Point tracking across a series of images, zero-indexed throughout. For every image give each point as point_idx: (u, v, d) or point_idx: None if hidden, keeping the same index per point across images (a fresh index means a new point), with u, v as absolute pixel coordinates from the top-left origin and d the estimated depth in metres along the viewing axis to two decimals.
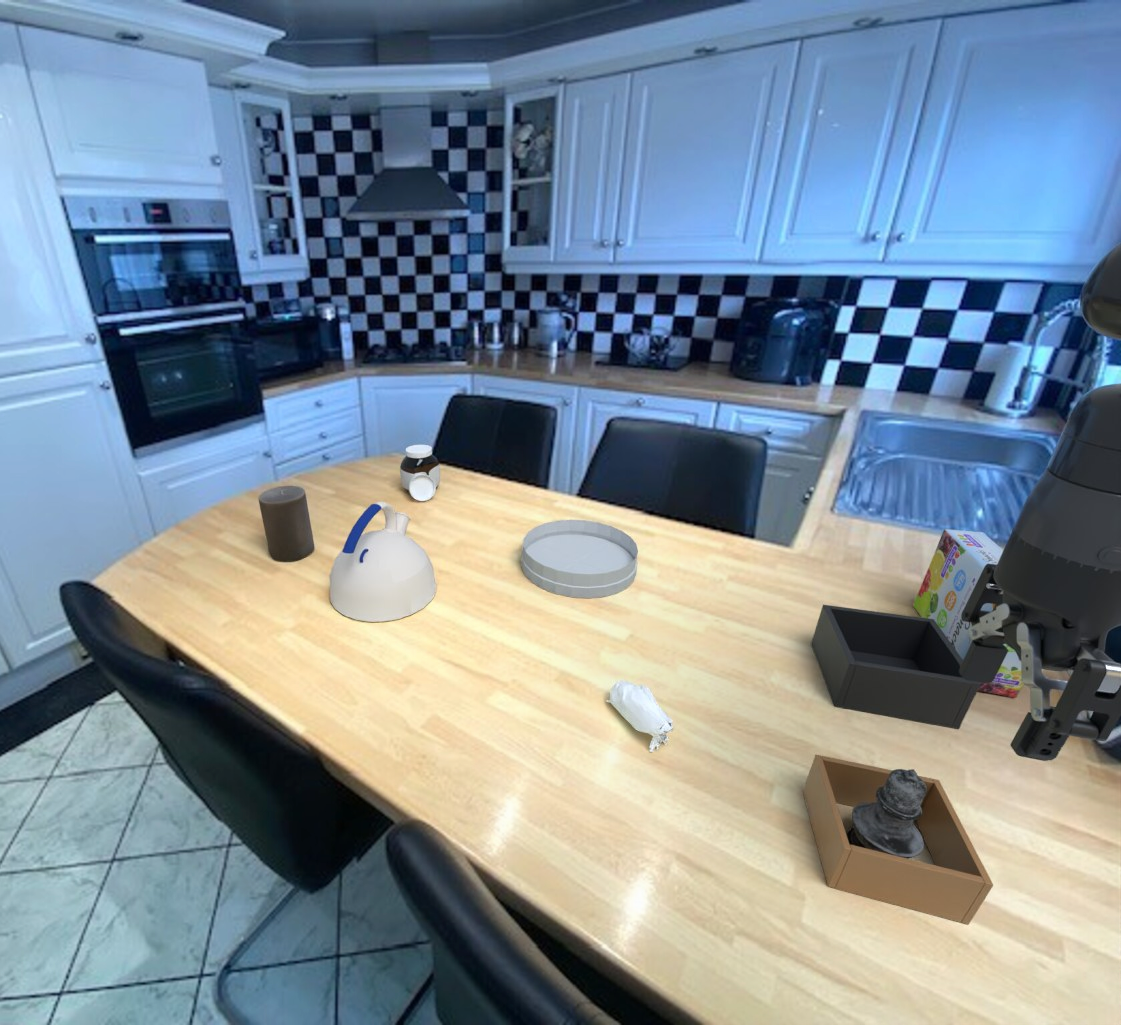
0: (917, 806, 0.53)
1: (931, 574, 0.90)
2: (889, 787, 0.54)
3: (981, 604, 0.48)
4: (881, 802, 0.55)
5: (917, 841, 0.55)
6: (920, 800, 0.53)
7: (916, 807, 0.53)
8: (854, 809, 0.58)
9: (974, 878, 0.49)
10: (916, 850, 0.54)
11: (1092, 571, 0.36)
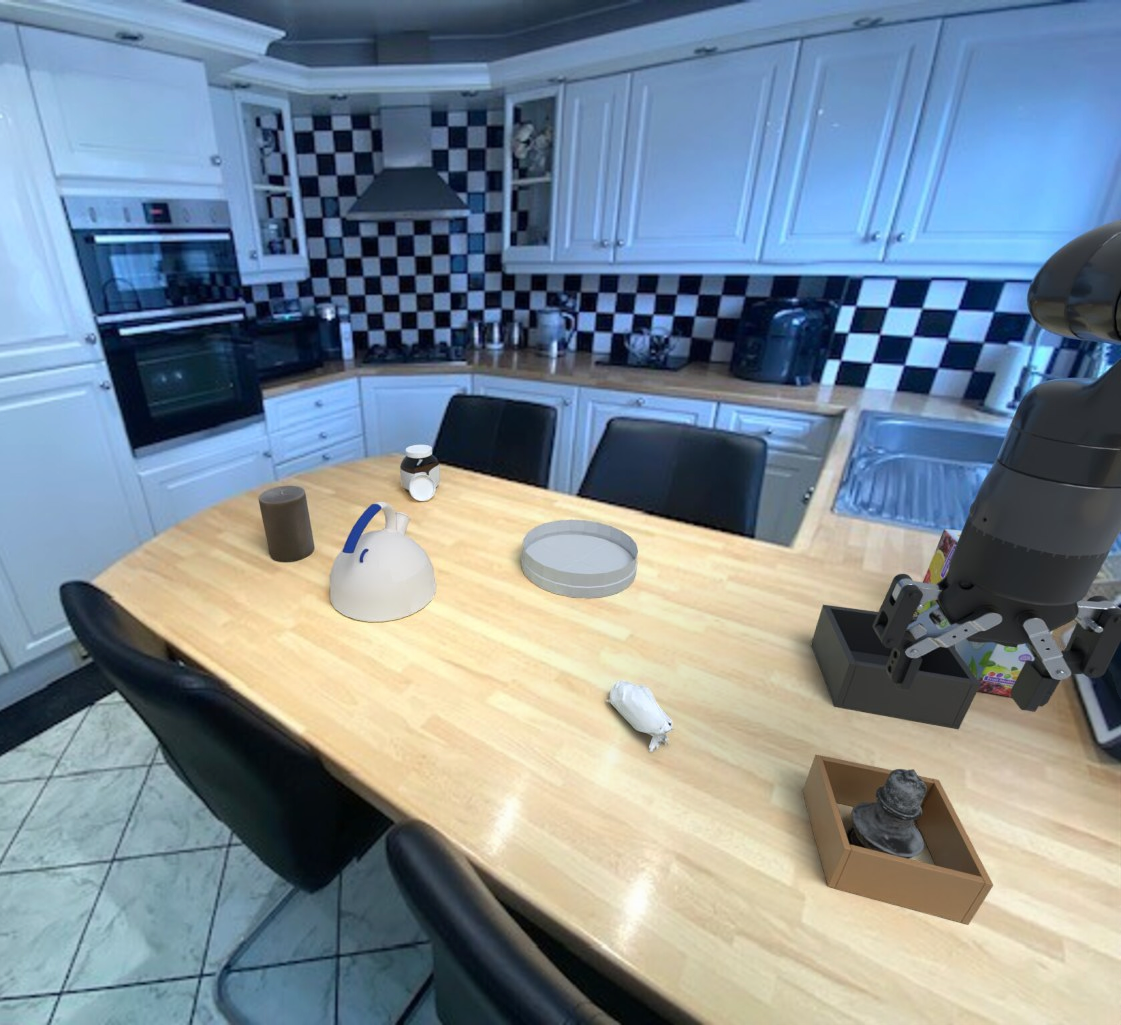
0: (917, 806, 0.53)
1: (931, 574, 0.90)
2: (889, 787, 0.54)
3: (1074, 636, 0.44)
4: (881, 802, 0.55)
5: (917, 841, 0.55)
6: (920, 800, 0.53)
7: (916, 807, 0.53)
8: (854, 809, 0.58)
9: (974, 878, 0.49)
10: (916, 850, 0.54)
11: (966, 521, 0.44)
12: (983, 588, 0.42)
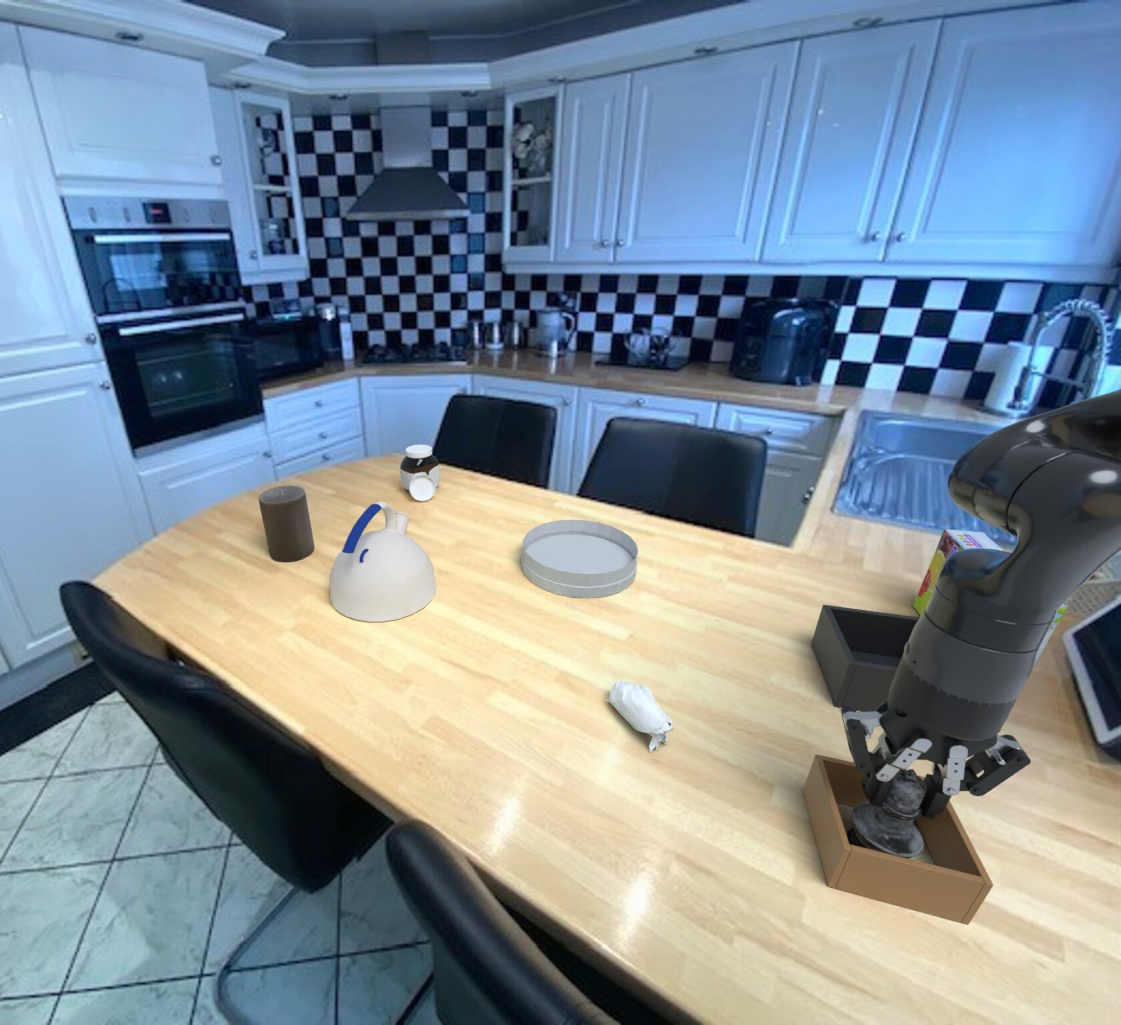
0: (917, 806, 0.53)
1: (931, 574, 0.90)
2: None
3: (974, 759, 0.51)
4: None
5: (917, 841, 0.55)
6: (920, 800, 0.53)
7: (916, 807, 0.53)
8: (854, 809, 0.58)
9: (974, 878, 0.49)
10: (916, 849, 0.54)
11: (902, 656, 0.50)
12: (914, 719, 0.48)
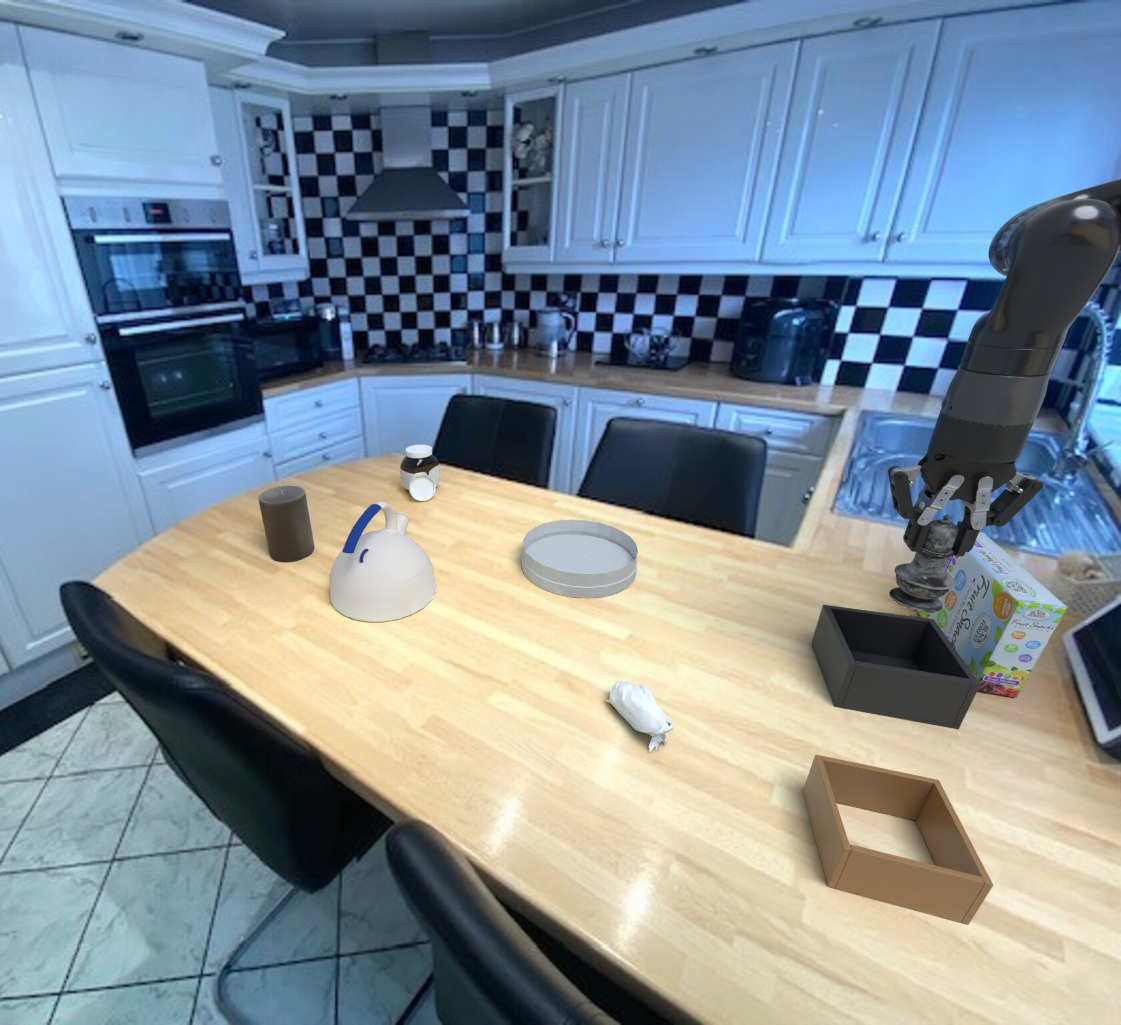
0: (950, 545, 0.66)
1: None
2: (927, 533, 0.67)
3: (997, 499, 0.64)
4: None
5: (950, 580, 0.67)
6: (953, 538, 0.65)
7: (950, 546, 0.66)
8: (896, 567, 0.71)
9: (974, 878, 0.49)
10: (950, 585, 0.67)
11: (939, 413, 0.63)
12: (950, 456, 0.61)
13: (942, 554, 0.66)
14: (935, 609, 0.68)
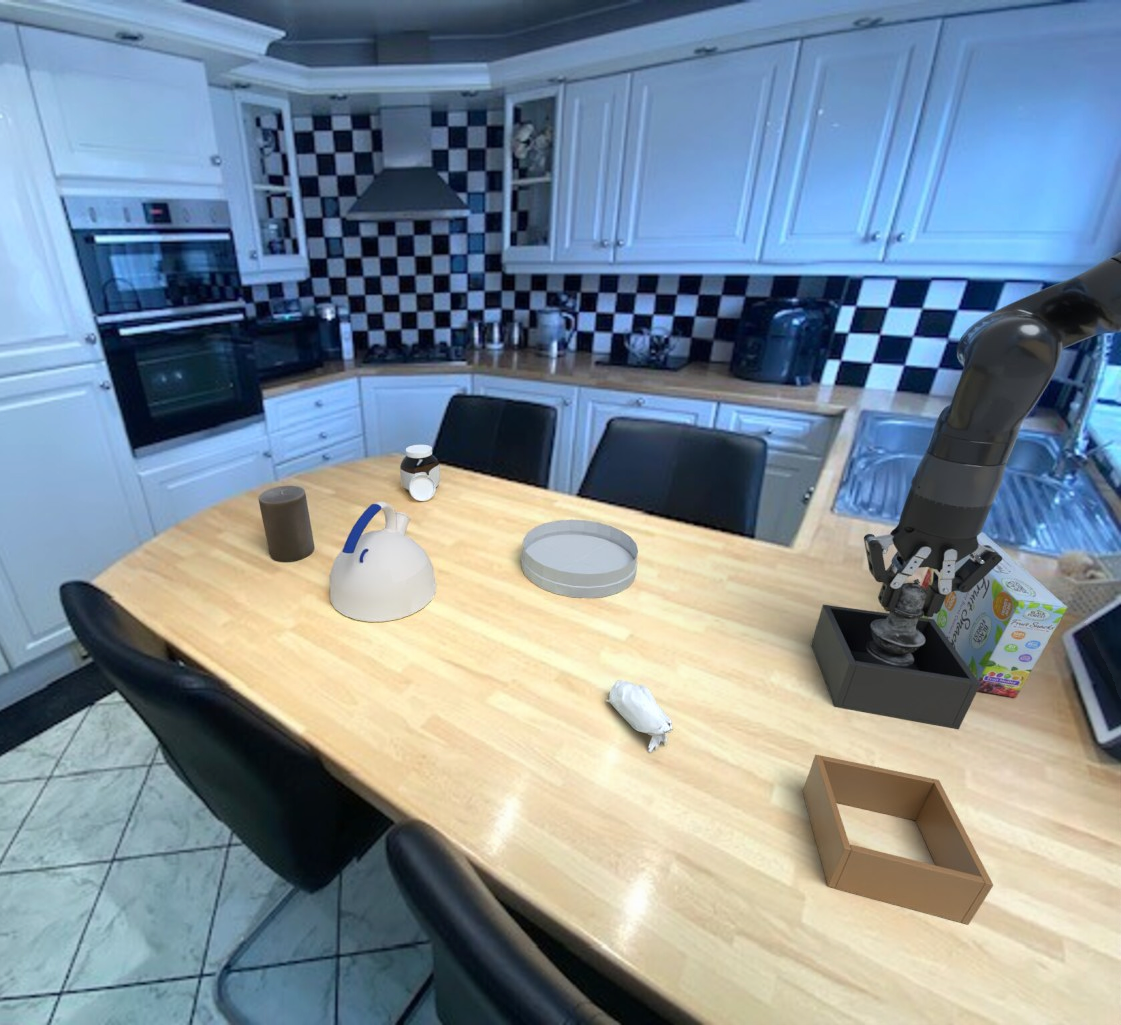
0: (920, 606, 0.72)
1: (931, 574, 0.90)
2: (899, 595, 0.73)
3: (962, 567, 0.70)
4: None
5: (920, 638, 0.74)
6: (922, 601, 0.71)
7: (919, 607, 0.72)
8: (872, 623, 0.77)
9: (974, 878, 0.49)
10: (920, 642, 0.73)
11: None
12: (918, 530, 0.67)
13: (913, 615, 0.72)
14: (907, 663, 0.74)
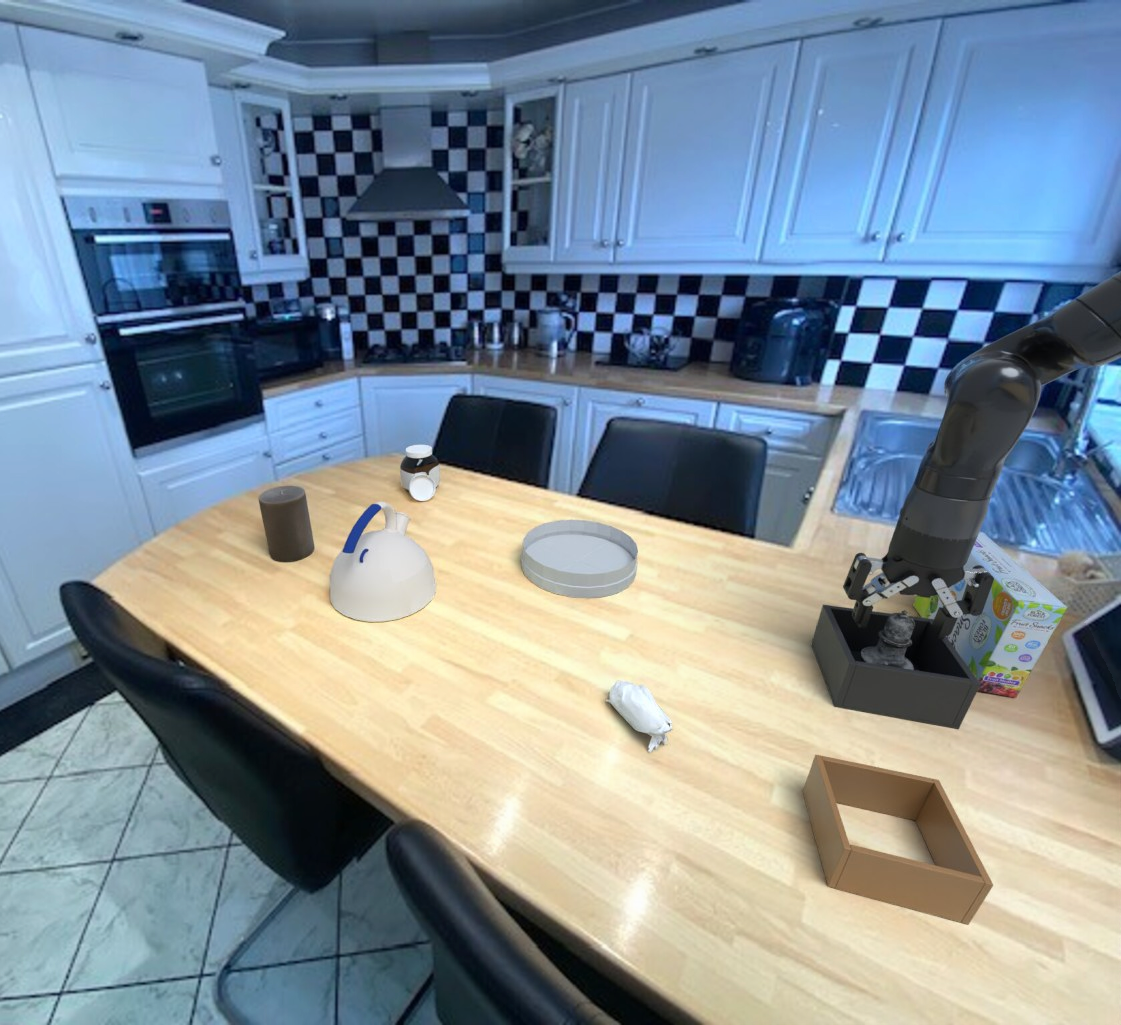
0: (908, 636, 0.74)
1: None
2: (888, 625, 0.75)
3: (966, 591, 0.71)
4: (882, 638, 0.76)
5: (908, 666, 0.76)
6: (910, 631, 0.73)
7: (907, 637, 0.74)
8: (862, 650, 0.79)
9: (974, 878, 0.49)
10: None
11: (898, 519, 0.71)
12: (906, 560, 0.69)
13: (901, 644, 0.74)
14: None
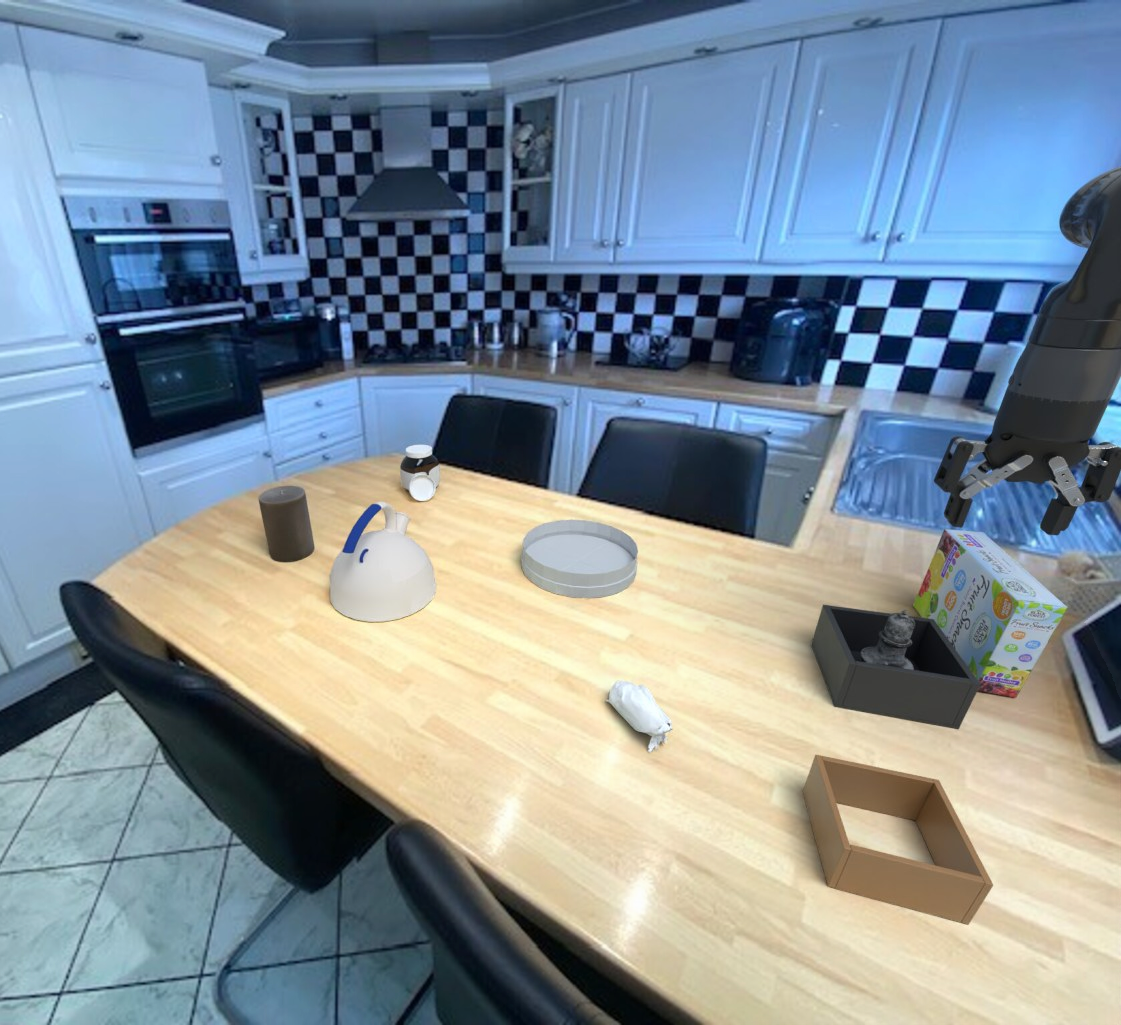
0: (908, 636, 0.74)
1: (931, 574, 0.90)
2: (888, 625, 0.75)
3: (1087, 475, 0.60)
4: (882, 638, 0.76)
5: (908, 666, 0.76)
6: (910, 631, 0.73)
7: (907, 637, 0.74)
8: (862, 650, 0.79)
9: (974, 878, 0.49)
10: None
11: None
12: (1019, 435, 0.58)
13: (901, 644, 0.74)
14: None
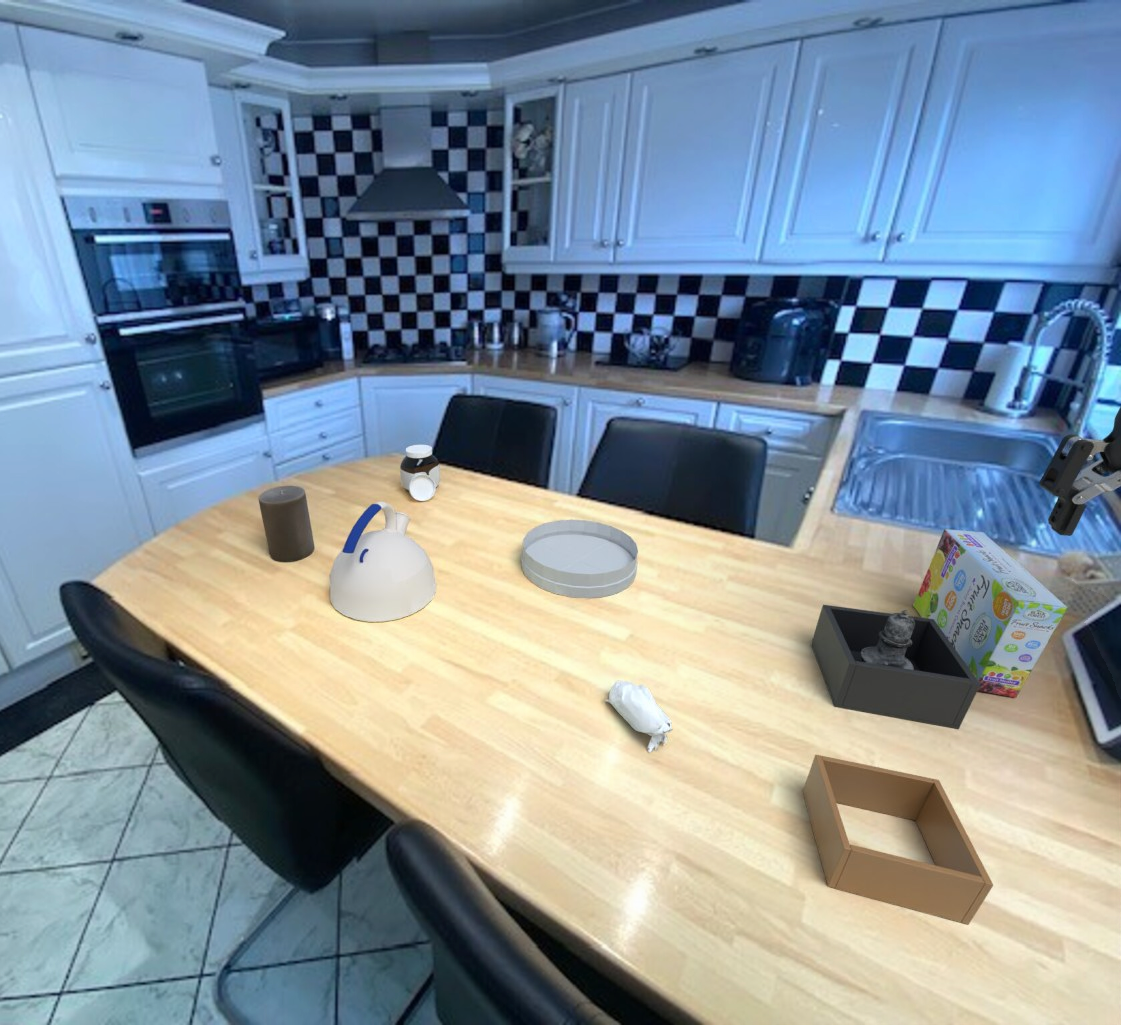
0: (908, 636, 0.74)
1: (931, 574, 0.90)
2: (888, 625, 0.75)
3: None
4: (882, 638, 0.76)
5: (908, 666, 0.76)
6: (910, 631, 0.73)
7: (907, 637, 0.74)
8: (862, 650, 0.79)
9: (974, 878, 0.49)
10: None
11: None
12: None
13: (901, 644, 0.74)
14: None
